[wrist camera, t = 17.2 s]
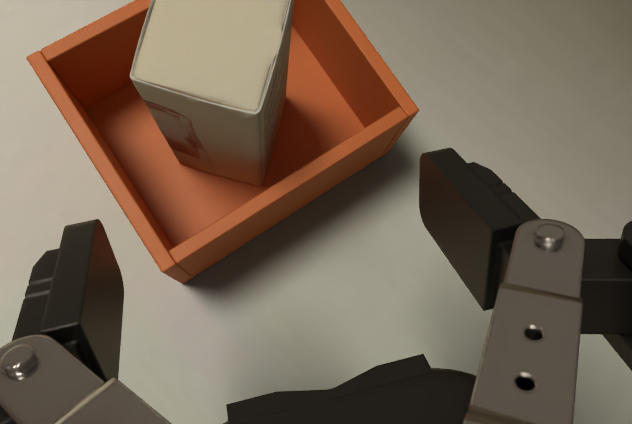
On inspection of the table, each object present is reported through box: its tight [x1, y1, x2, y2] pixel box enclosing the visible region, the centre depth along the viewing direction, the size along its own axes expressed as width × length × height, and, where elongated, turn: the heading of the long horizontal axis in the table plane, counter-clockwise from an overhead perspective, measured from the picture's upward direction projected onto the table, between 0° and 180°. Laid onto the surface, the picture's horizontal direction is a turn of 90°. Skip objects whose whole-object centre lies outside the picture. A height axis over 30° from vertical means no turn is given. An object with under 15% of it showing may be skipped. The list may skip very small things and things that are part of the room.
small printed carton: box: [130, 0, 294, 186], centre depth 23 cm, size 5×4×10 cm
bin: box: [27, 0, 419, 284], centre depth 25 cm, size 12×10×6 cm
